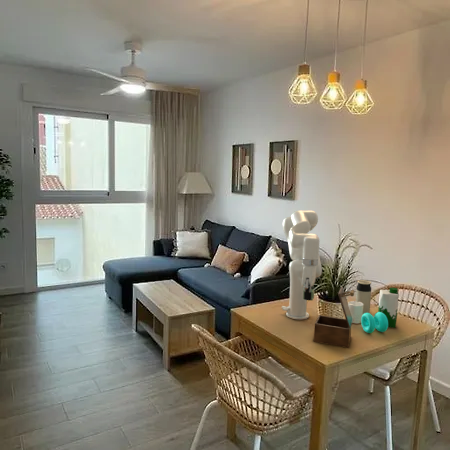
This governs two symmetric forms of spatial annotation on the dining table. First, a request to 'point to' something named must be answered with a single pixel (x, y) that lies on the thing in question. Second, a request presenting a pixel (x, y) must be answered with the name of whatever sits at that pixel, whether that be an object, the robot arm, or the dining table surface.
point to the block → (311, 294)
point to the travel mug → (364, 294)
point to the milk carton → (389, 305)
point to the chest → (332, 331)
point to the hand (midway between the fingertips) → (308, 297)
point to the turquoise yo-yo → (374, 322)
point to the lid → (346, 305)
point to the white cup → (356, 311)
